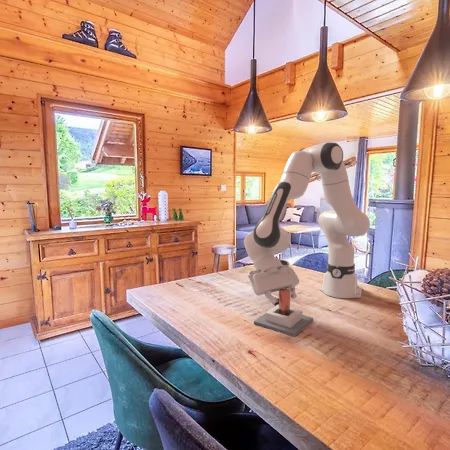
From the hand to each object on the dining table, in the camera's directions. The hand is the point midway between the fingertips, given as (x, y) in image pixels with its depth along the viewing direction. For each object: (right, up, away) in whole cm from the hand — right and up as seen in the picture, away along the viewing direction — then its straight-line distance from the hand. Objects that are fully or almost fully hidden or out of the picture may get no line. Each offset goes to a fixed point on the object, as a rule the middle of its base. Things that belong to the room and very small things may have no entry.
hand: (285, 300), depth 110 cm
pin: (0, -7, +1) cm, 7 cm away
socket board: (0, -8, +1) cm, 8 cm away
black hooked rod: (0, -6, +22) cm, 23 cm away
